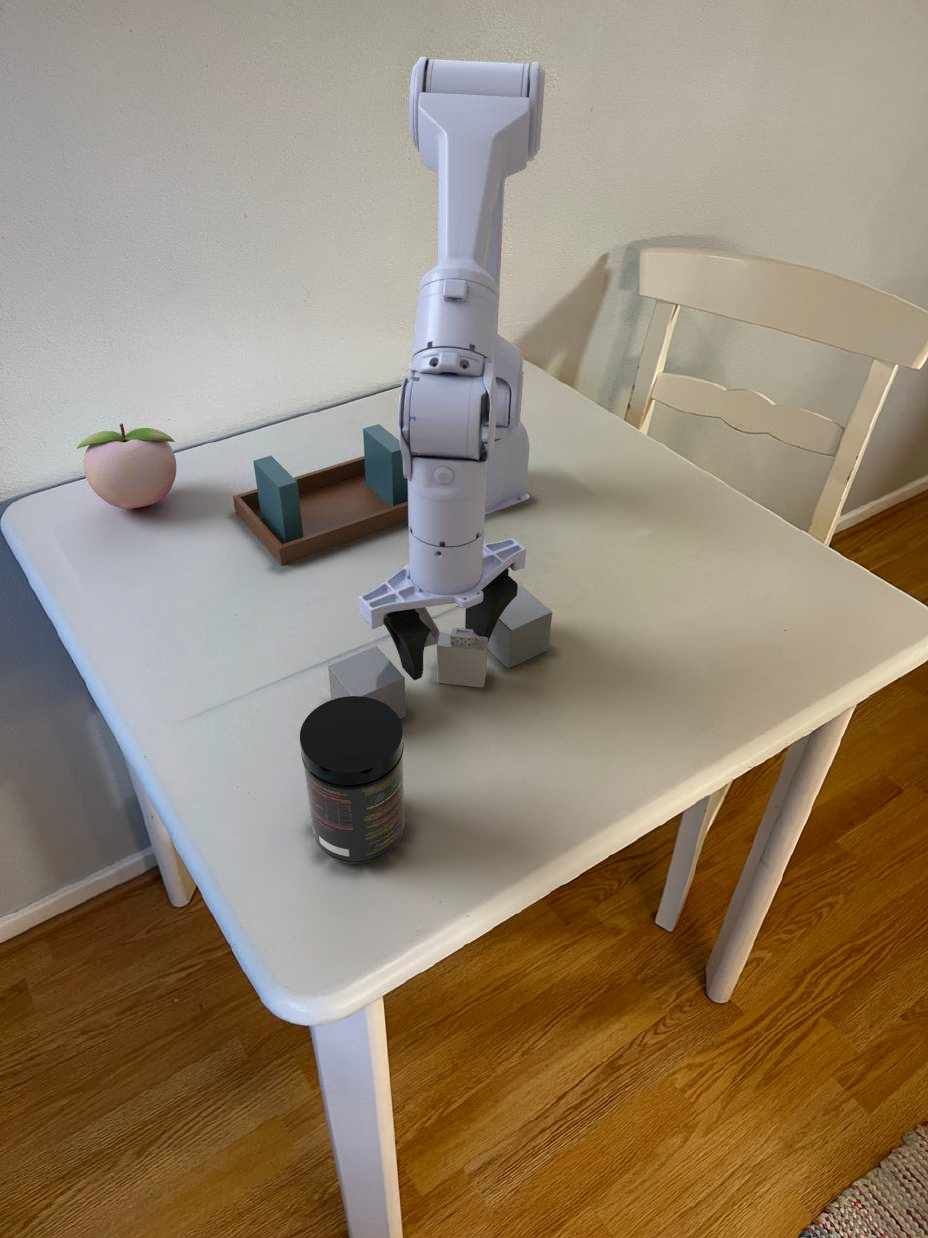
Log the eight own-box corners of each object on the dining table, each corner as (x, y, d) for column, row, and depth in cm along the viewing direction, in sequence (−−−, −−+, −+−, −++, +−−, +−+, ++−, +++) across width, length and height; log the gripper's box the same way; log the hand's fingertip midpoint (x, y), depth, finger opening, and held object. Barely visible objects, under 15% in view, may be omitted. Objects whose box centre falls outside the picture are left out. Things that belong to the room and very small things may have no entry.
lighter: (486, 674, 78) (490, 603, 73) (483, 687, 77) (488, 616, 72) (405, 665, 79) (404, 593, 74) (402, 678, 77) (400, 607, 72)
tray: (383, 468, 104) (382, 449, 102) (436, 514, 97) (436, 495, 95) (235, 515, 96) (232, 495, 94) (281, 569, 89) (279, 549, 87)
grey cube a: (518, 622, 83) (521, 584, 81) (548, 650, 81) (552, 612, 78) (478, 640, 81) (480, 601, 79) (508, 669, 79) (511, 630, 76)
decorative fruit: (101, 539, 92) (76, 453, 85) (91, 499, 97) (67, 415, 91) (194, 520, 95) (177, 435, 88) (179, 481, 100) (162, 399, 94)
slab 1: (278, 512, 95) (271, 454, 91) (304, 540, 92) (297, 481, 87) (261, 518, 95) (252, 460, 90) (286, 546, 91) (279, 487, 86)
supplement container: (420, 808, 67) (419, 711, 60) (382, 882, 62) (376, 785, 55) (338, 782, 69) (328, 684, 62) (295, 851, 64) (279, 754, 57)
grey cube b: (378, 684, 77) (376, 645, 74) (405, 716, 74) (405, 677, 71) (331, 705, 75) (327, 665, 72) (358, 739, 72) (355, 699, 69)
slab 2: (381, 479, 101) (378, 423, 96) (409, 504, 97) (408, 447, 93) (365, 484, 100) (362, 428, 96) (393, 509, 96) (391, 452, 92)
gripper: (390, 585, 62) (395, 720, 71) (554, 521, 68) (540, 653, 77) (341, 535, 66) (351, 668, 75) (500, 480, 73) (492, 609, 81)
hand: (444, 657), depth 76 cm, fingers closed on lighter, 6 cm apart
